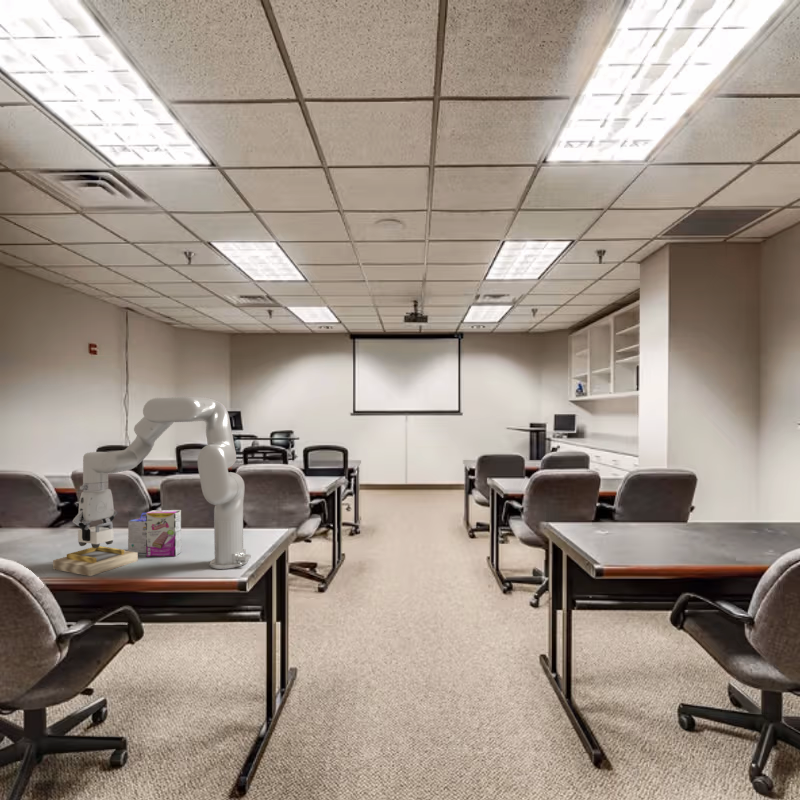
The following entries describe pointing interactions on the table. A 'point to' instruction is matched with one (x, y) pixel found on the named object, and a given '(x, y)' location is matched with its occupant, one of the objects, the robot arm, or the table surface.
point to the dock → (94, 560)
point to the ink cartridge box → (137, 535)
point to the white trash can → (98, 535)
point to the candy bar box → (163, 533)
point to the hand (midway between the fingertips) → (95, 537)
